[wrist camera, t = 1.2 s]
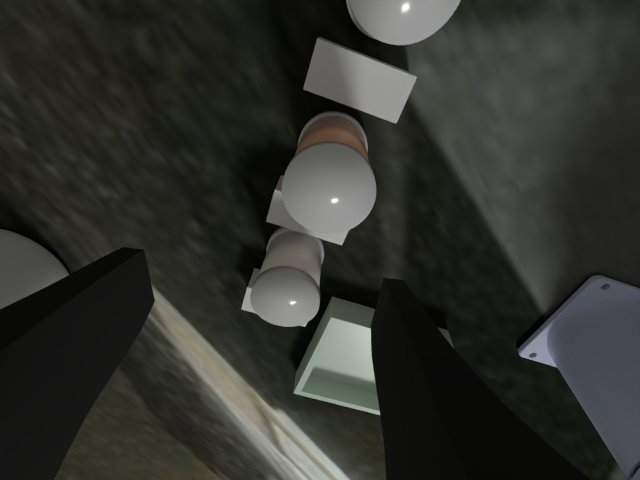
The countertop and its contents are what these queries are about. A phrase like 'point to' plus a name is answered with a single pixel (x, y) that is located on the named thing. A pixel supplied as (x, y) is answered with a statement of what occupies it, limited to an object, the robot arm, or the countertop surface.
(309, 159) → the marked fuse
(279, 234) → the cylinder
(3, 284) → the pill bottle
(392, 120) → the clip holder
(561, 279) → the countertop surface
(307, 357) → the tray
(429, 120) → the countertop surface
